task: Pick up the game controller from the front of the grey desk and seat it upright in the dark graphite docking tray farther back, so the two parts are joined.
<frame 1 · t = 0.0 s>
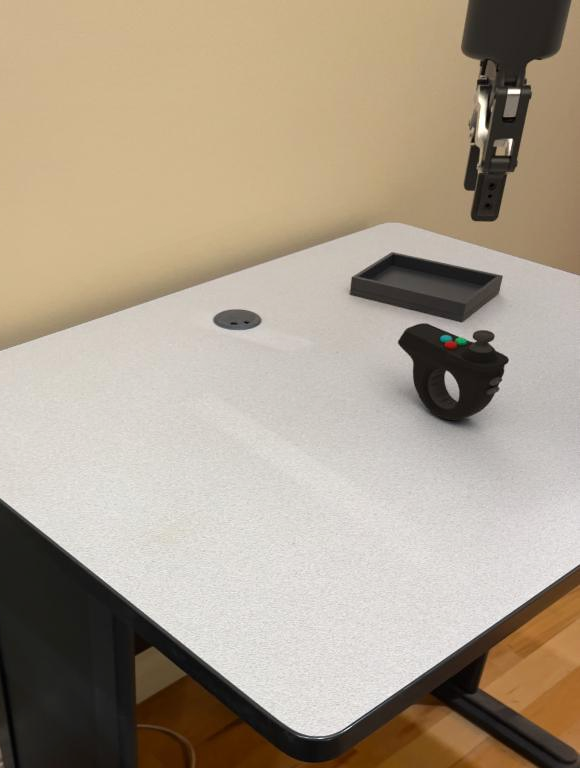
hand: (479, 204, 79), 23 cm above the table, tool pointing down, fingers open, 8 cm apart
controller: (439, 412, 97), on the table
dock: (423, 293, 121), on the table
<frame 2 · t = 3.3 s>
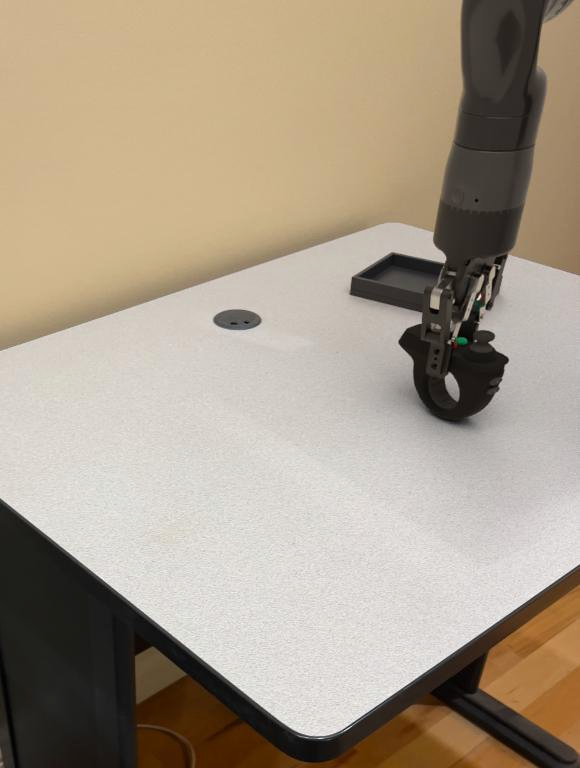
hand: (449, 364, 93), 5 cm above the table, tool pointing down, fingers closed on controller, 5 cm apart
controller: (439, 412, 97), on the table, touching gripper
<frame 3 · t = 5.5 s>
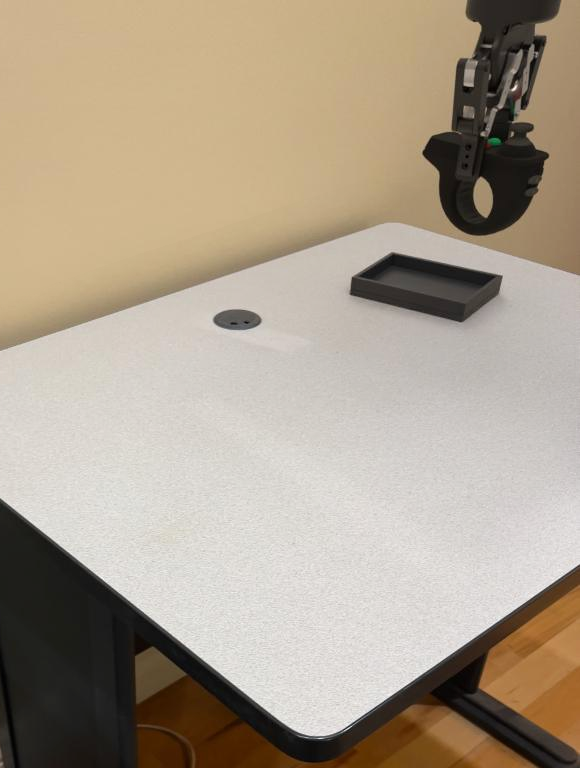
hand: (480, 171, 84), 23 cm above the table, tool pointing down, fingers closed on controller, 5 cm apart
controller: (468, 232, 88), point 18 cm above the table, touching gripper
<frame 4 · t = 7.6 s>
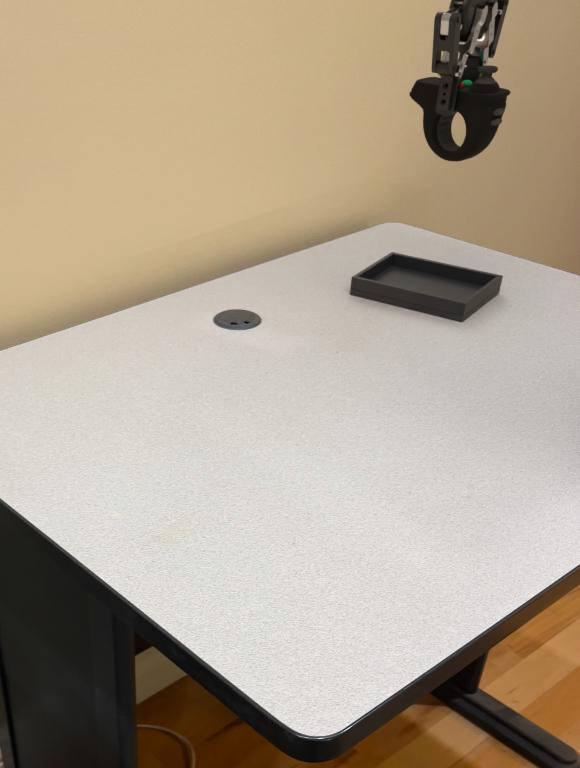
hand: (456, 108, 104), 23 cm above the table, tool pointing down, fingers closed on controller, 5 cm apart
controller: (447, 160, 107), point 17 cm above the table, touching gripper
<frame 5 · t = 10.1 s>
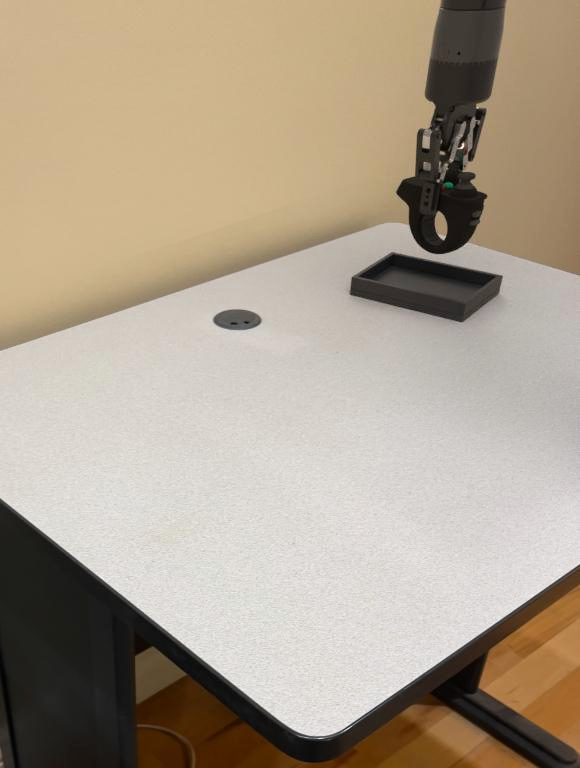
hand: (438, 207, 113), 11 cm above the table, tool pointing down, fingers closed on controller, 5 cm apart
controller: (431, 251, 117), point 6 cm above the table, touching gripper
when the fingers open (6 cm above the table, at t = 11.9 s): controller stays where it is, resting on dock.
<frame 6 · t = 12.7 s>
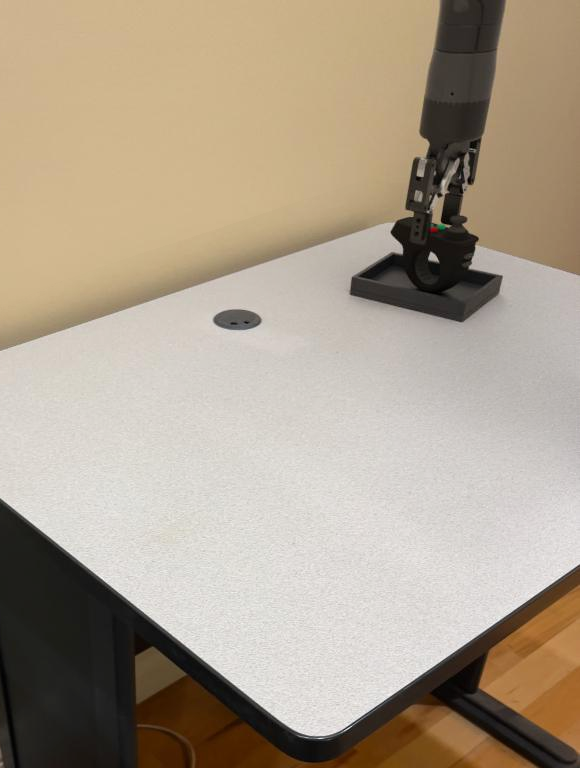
hand: (434, 233, 115), 8 cm above the table, tool pointing down, fingers open, 8 cm apart
controller: (424, 289, 120), point 1 cm above the table, touching dock
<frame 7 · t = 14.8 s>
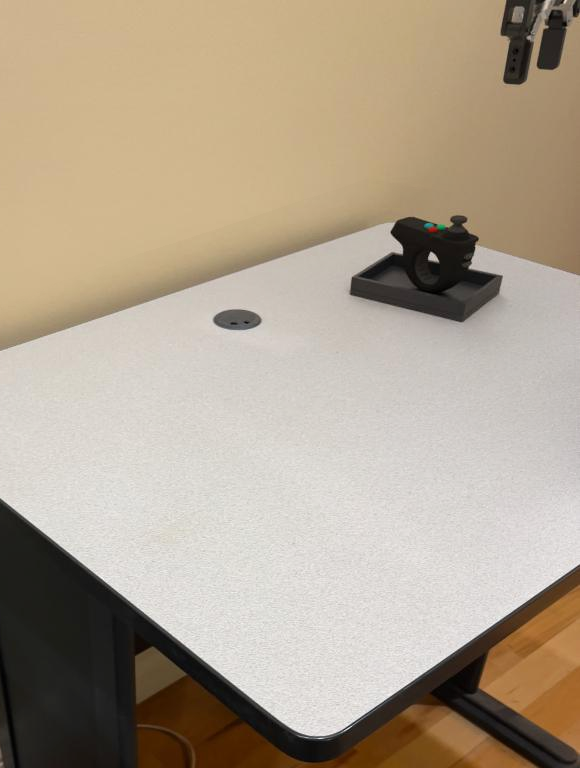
hand: (531, 76, 94), 28 cm above the table, tool pointing down, fingers open, 8 cm apart
nothing on the table moved.
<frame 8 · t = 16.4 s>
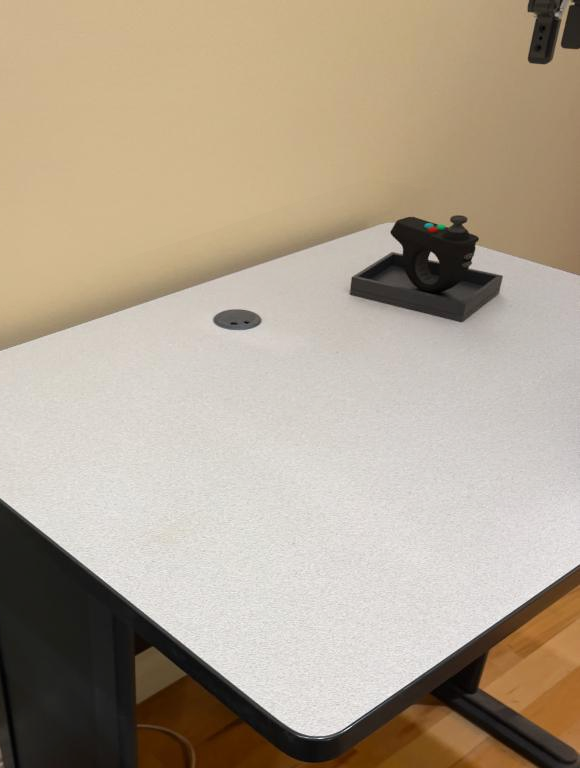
hand: (555, 55, 90), 30 cm above the table, tool pointing down, fingers open, 8 cm apart
nothing on the table moved.
at the end: controller inside the target area in the dock (0.1 cm from its centre), point 0.6 cm above the dock's base; controller tilted 0°; the gripper is holding nothing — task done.
